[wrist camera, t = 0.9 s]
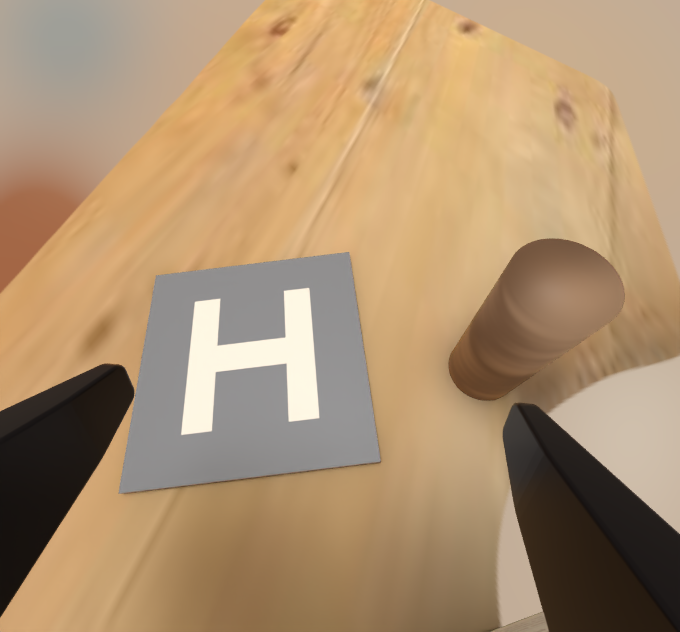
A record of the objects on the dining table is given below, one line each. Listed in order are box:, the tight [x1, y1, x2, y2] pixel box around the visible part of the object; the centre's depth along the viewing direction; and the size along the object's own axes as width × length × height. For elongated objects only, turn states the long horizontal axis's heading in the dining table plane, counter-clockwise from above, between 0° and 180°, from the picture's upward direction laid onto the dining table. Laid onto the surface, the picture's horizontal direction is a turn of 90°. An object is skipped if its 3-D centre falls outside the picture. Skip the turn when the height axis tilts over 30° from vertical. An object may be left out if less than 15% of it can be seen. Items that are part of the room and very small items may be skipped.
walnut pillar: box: [449, 239, 625, 400], centre depth 19 cm, size 4×4×11 cm
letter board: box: [119, 252, 381, 494], centre depth 25 cm, size 16×16×1 cm
